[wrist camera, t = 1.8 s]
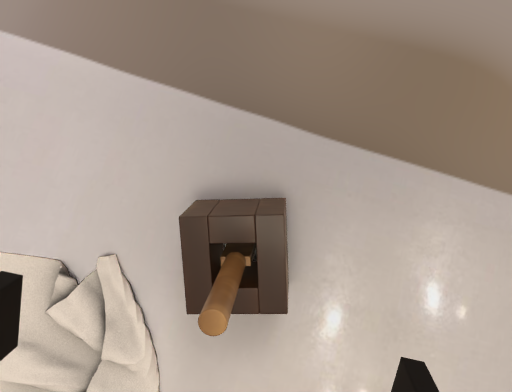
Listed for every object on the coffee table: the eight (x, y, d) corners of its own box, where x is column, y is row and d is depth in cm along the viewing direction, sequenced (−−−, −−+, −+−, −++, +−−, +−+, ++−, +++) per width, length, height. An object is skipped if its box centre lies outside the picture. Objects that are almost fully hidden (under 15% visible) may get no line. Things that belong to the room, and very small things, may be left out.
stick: (255, 232, 39) (232, 309, 25) (256, 251, 40) (234, 336, 25) (229, 233, 40) (190, 309, 25) (230, 251, 40) (192, 336, 25)
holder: (285, 197, 38) (284, 214, 33) (288, 283, 40) (287, 314, 34) (196, 199, 39) (178, 216, 33) (202, 284, 41) (186, 314, 35)
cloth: (110, 472, 46) (100, 492, 44) (-64, 348, 45) (-84, 361, 42) (226, 336, 42) (222, 350, 39) (37, 195, 40) (21, 200, 38)
